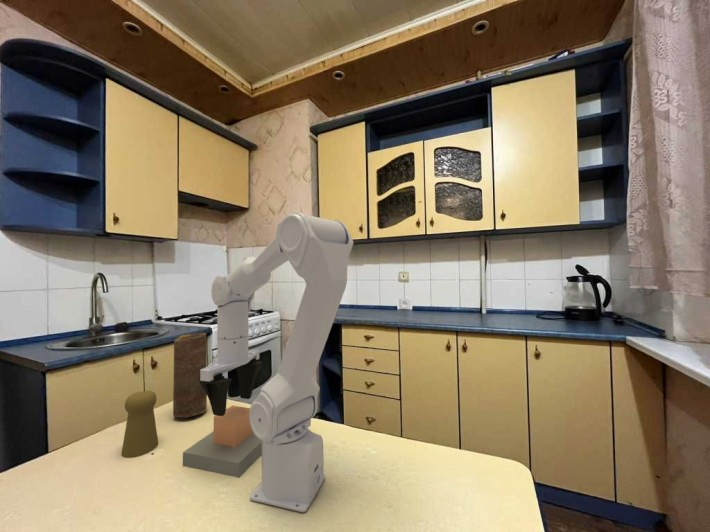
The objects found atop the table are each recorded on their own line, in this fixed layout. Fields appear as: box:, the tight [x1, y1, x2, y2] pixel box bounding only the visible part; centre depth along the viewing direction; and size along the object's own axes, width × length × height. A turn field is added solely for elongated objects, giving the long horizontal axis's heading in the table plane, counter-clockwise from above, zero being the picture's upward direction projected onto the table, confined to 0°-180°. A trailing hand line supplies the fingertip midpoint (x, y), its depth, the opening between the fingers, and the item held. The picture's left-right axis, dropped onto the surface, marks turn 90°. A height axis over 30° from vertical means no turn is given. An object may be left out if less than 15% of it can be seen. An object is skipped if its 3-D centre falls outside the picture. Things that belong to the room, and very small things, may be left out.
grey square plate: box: [182, 430, 262, 479], centre depth 57 cm, size 12×12×3 cm
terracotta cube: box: [213, 405, 252, 448], centre depth 57 cm, size 5×5×5 cm
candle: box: [172, 332, 208, 418], centre depth 73 cm, size 8×7×20 cm
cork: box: [120, 390, 159, 459], centre depth 59 cm, size 6×6×11 cm
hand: (233, 405), depth 57 cm, fingers open, 7 cm apart
